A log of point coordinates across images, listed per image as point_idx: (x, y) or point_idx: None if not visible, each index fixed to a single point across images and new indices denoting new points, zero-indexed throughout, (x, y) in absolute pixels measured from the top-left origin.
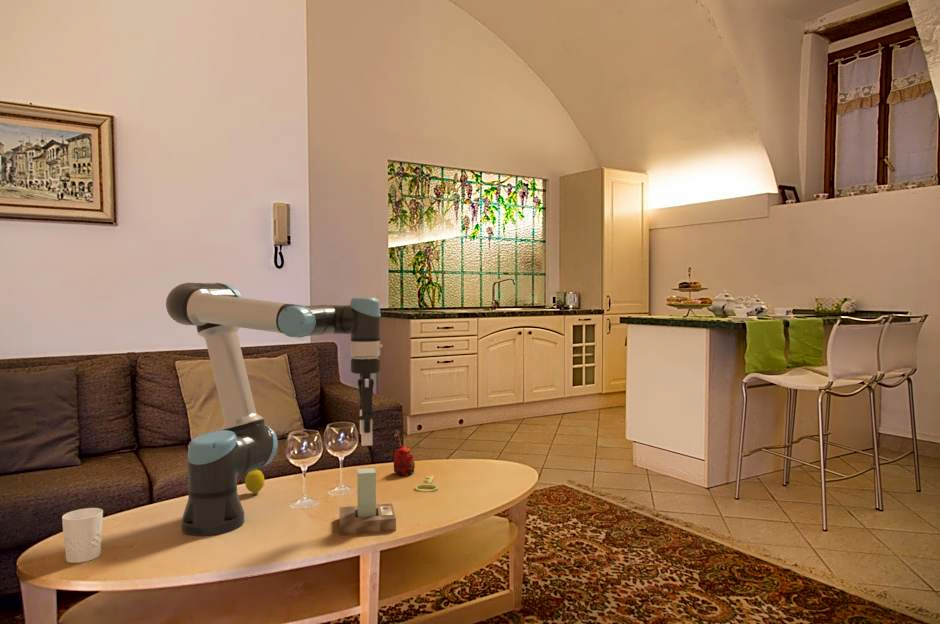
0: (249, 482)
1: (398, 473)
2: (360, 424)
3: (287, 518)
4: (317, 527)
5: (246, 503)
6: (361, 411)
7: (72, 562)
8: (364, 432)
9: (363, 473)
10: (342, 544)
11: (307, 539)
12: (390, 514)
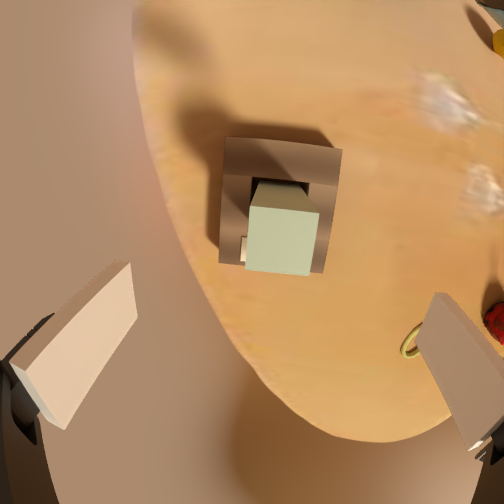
0: (499, 31)
1: (494, 306)
2: (461, 330)
3: (366, 50)
4: (292, 96)
5: (455, 19)
6: (501, 401)
7: None
8: (50, 315)
9: (248, 226)
10: (178, 142)
11: (225, 75)
12: (243, 256)
